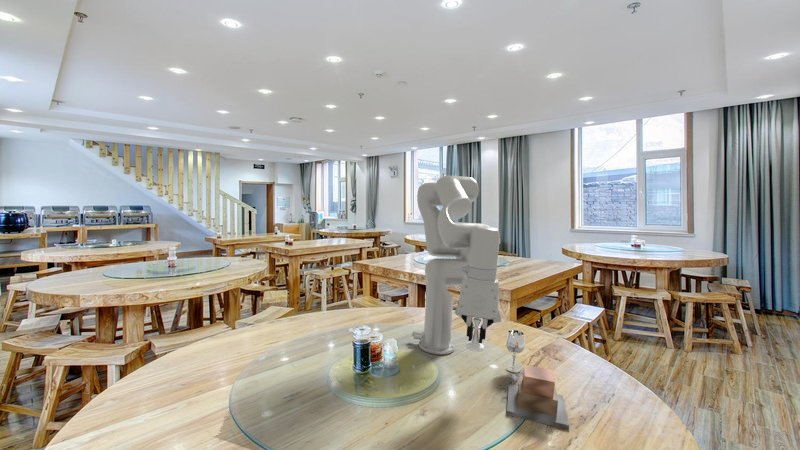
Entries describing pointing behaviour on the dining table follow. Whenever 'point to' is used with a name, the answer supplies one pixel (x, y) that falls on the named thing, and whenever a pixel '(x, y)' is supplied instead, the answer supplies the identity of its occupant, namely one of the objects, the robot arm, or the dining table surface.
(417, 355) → the dining table surface
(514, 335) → the wineglass
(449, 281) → the robot arm
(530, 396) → the stepped pedestal
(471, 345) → the chess piece
